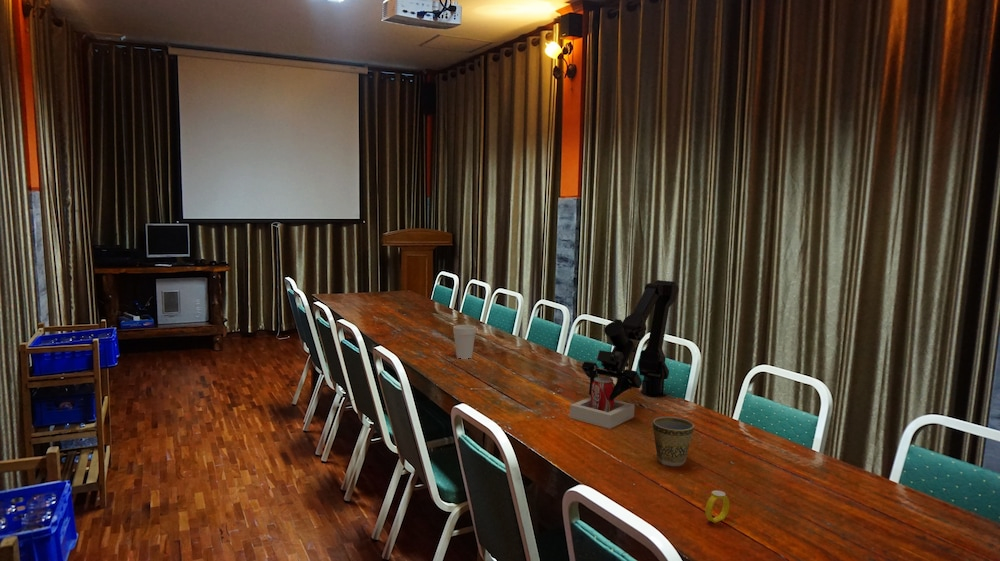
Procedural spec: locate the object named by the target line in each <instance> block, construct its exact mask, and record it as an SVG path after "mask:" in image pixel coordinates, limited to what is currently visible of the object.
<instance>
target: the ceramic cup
mask: <svg viewBox="0 0 1000 561" xmlns="http://www.w3.org/2000/svg"><path fill="white" fill-rule="evenodd" d="M652 428H653V430H652V431H653V435H654V442H655V443H654V444H655V452H656V458H657V460H658V462H660V463H661V464H662V465H664V466H669V467H681V466H683V465H684V464H685V463H686V461H687V456H688V452H689V448H690V443H691V440H692V437H693V432H694V428H695V425H694V423H692V422H691V421H690V420H687V419H684V418H682V417H674V416H661V417H656V418H655V419H653V420H652Z"/></svg>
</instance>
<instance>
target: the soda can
mask: <svg viewBox="0 0 1000 561" xmlns="http://www.w3.org/2000/svg"><path fill="white" fill-rule="evenodd" d="M615 385H616V384H615V383H614V378H613V377H609V376H599V377H595V378H594V381H593V383H592V388H591V396H590V397H591V408H593V409H597V410H601V411H605V412H610V411H612V410H614V401H615V400H616V398H615V399H613V400H612V401H610V399H609V398H610V396H611V394H612V391H613V389H614V387H615Z"/></svg>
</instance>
